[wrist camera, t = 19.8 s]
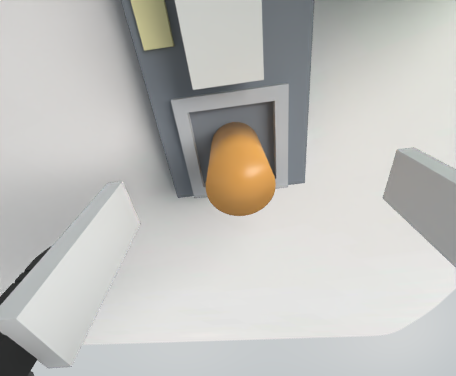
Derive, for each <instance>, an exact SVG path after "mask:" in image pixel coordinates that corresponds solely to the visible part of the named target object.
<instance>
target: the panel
mask: <svg viewBox="0 0 456 376" xmlns="http://www.w3.org/2000/svg"><path fill="white" fill-rule="evenodd" d="M121 2H122V5H123V9H124V12H125V16H126V19H127V23H128V26H129V30H130V33H131V37H132V40H133V43H134V47H135V50H136V54H137V57H138V61H139V64H140V68H141V71H142V75H143V78H144V82H145V85H146V89H147V92H148V96H149V99H150V103H151V106H152V109H153V113H154V116H155V120H156V123H157V127H158V130H159V134H160V137H161V141H162V144H163V148H164V151H165V155H166V158H167V162H168V165H169V168H170V172H171V175H172V179H173V182H174V186H175V189H176V193H177V196H178V198H181V197H190V196H194V198H200V197H208V196H207V193H206V179H207V172H208V165H209V158H210V151H211V144H212V139H213V136H214V134H215V133H216V131H217V130H218V129H219V128H220V127H222V126H223V125H225V124H227V123H231V122H240V123H244V124H246V125H248V126H250V127H251V128H252V129H253V130H254V131H255V133H256V134H257V136H258V139H259V141H260V143H261V146H262V148H263V150H264V153H265V155H266V158H267V160H268V162H269V165H270V167H271V169H272V172H273V174H274V177H275V182H276V187H275V189H277V188H285V187H288V185H291V184H300V183H305V167H306V147H307V128H308V109H309V90H310V71H311V51H312V32H313V13H314V0H262V30H263V64H264V80H259V81H252V82H245V83H238V84H231V85H224V86H217V87H210V88H203V89H196V90H193V88H192V83H191V78H190V73H189V68H188V63H187V58H186V53H185V49H184V44H183V39H182V34H181V29H180V24H179V19H178V14H177V9H176V4H175V0H121Z"/></svg>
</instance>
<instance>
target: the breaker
mask: <svg viewBox="0 0 456 376" xmlns="http://www.w3.org/2000/svg"><path fill="white" fill-rule="evenodd" d="M175 4H176V9H177V14H178V19H179V24H180V29H181V34H182V39H183V44H184V49H185V53H186V58H187V63H188V68H189V73H190V78H191V83H192V88H193V90H196V89H203V88H210V87H217V86H224V85H231V84H238V83H245V82H252V81H259V80H264V64H263V30H262V0H175Z"/></svg>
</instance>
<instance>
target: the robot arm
mask: <svg viewBox="0 0 456 376" xmlns="http://www.w3.org/2000/svg"><path fill="white" fill-rule="evenodd" d="M383 199H384V200H385V201H386V202H387V203H388V204H389V205H390V206H391V207H392V208H393V209H394V210H396V211H397V212H398V213H399V214H400V215H401V216H402V217H403V218H404V219H405V220H406V221H407V222H408V223H409V224H410V225H411V226H412V227H413V228H415V229H416V230H417V231H418V232H419V233H420V234H421V235H422V236H423V237H424V238H425V239H426V240H427V241H428V242H429V243H430V244H431V245H432V246H434V247H435V248H436V249H437V250H438V251H439V252H440V253H441V254H442V255H443V256H444V257H445V258H446V259H447V260H448V261H449V262H450V263H451V264H453V265H454V266H455V267H456V169H455V168H453V167H451V166H449V165H447V164H445V163H443V162H441V161H439V160H437V159H435V158H433V157H432V156H430V155H428V154H426V153H424V152H422V151H420V150H418V149H416V148H405V149H397V151H396V154H395V158H394V161H393V165H392V168H391V171H390V175H389V178H388V182H387V185H386V188H385V192H384V195H383ZM140 224H141V223H140V220H139V218H138V216H137V213H136V211H135V209H134V207H133V204H132V202H131V200H130V197H129V195H128V193H127V190H126V188H125V186H124V183H123V181H120V182H112V183H107V184H106V185H105V187H104V188H103V189H102V190H101V191H100V192H99V193H98V195H97V196H96V197H95V198H94V199H93V200H92V201H91V203H90V204H89V205H88V206H87V207H86V208H85V209H84V211H83V212H82V213H81V214H80V215H79V216H78V217H77V219H76V220H75V221H74V222H73V223H72V224H71V225H70V226H69V228H68V229H67V230H66V231H65V232H64V233H63V234H62V236H61V237H60V238H59V239H58V240H57V241H56V242H55V244H54V245H53V246H52V247H49V248H48V249H47V250H45V251H44V252H43V253H41V254H40V255H39V256H37V257H36V258H35V259H34V260H33V261H32V262H31V264H30V265H29V266H28V267H27V268H26V269H25V272H24V273H21V275H20V276H19V277H18V278H17V279H16V280H15V283H13V284H11V286H10V287H9V288H8V289H7V290H6V291H5V292H4V293H3V294H2V295H1V297H0V376H34V374H33V372H31V369H32V367H33V366H34V364H35V362H36V361H37V360H38V361H39V362H40V363H42V364H43V365H44V366H46V367H47V368H60V367H72V365H73V363H74V361H75V359H76V357H77V355H78V353H79V350H80V348H81V346H82V344H83V342H84V340H85V338H86V336H87V334H88V332H89V330H90V328H91V326H92V324H93V322H94V319H95V317H96V315H97V313H98V311H99V309H100V307H101V305H102V303H103V301H104V299H105V297H106V295H107V293H108V290H109V288H110V286H111V284H112V282H113V280H114V278H115V276H116V274H117V272H118V270H119V268H120V266H121V264H122V261H123V259H124V257H125V255H126V253H127V251H128V249H129V247H130V245H131V243H132V241H133V239H134V237H135V235H136V233H137V230H138V228H139V226H140Z"/></svg>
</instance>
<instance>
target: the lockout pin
mask: <svg viewBox="0 0 456 376" xmlns="http://www.w3.org/2000/svg"><path fill="white" fill-rule="evenodd" d="M275 187H276V182H275V177H274V174H273V172H272V169H271V167H270V165H269V162H268V160H267V158H266V155H265V153H264V150H263V148H262V146H261V143H260V141H259V139H258V136H257V134H256V133H255V131H254V130H253V129H252V128H251V127H250V126H248V125H246V124H244V123H240V122H231V123H227V124H225V125H223V126H222V127H220V128H219V129H218V130H217V131H216V133H215V134H214V136H213V139H212V144H211V151H210V158H209V165H208V172H207V179H206V193H207V196H208V198H209V200H210V202H211V203H212V204H213V206H215V207H216V208H217V209H218V210H220V211H222V212H224V213H226V214H229V215H234V216H245V215H250V214H253V213H255V212H257V211H259V210H261V209H262V208H264V207H265V206H266V205H267V204H268V203H269V202H270V200H271V199H272V197H273V195H274V192H275Z"/></svg>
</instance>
